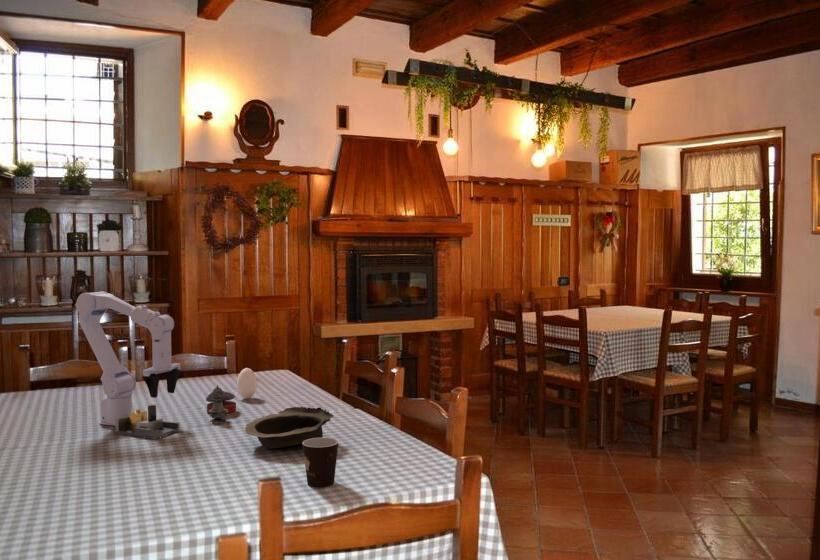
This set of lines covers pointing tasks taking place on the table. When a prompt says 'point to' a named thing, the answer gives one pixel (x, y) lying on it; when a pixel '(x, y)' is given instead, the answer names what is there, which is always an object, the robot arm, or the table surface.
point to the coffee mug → (320, 461)
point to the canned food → (223, 402)
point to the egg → (246, 383)
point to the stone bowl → (289, 426)
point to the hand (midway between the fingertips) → (162, 395)
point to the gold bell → (137, 417)
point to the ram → (151, 420)
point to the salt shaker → (217, 407)
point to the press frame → (145, 429)
